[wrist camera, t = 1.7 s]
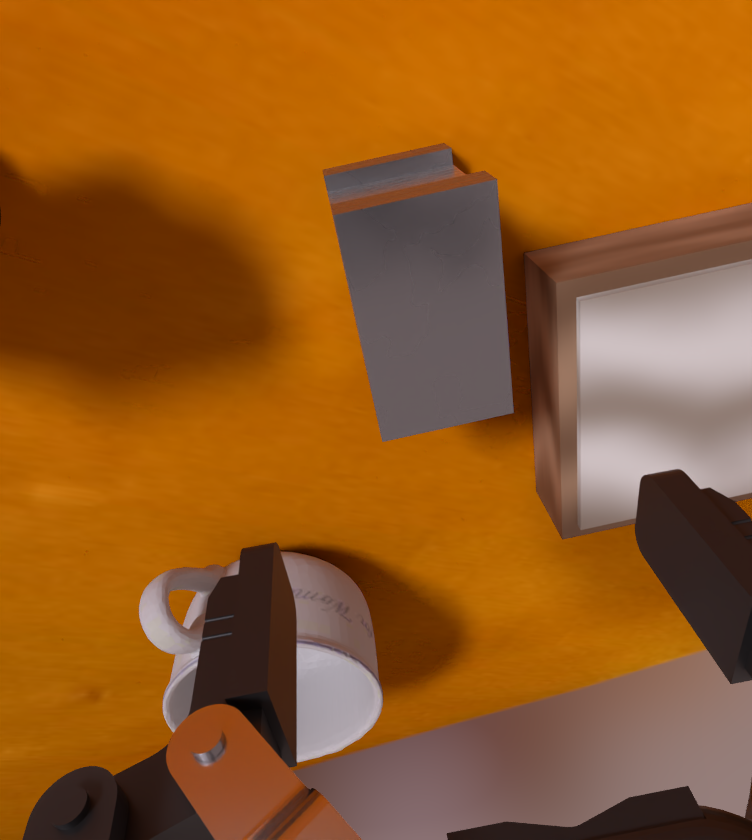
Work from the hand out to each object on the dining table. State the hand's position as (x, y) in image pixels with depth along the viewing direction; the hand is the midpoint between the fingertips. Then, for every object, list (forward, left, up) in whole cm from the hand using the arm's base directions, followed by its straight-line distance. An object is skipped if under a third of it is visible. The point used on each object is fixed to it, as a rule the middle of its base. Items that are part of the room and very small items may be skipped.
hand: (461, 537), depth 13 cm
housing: (-1, +1, -17) cm, 17 cm away
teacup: (+16, -10, -17) cm, 25 cm away
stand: (+7, +12, -17) cm, 22 cm away
